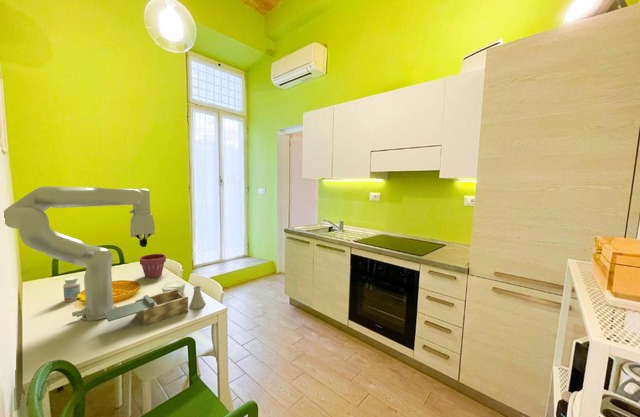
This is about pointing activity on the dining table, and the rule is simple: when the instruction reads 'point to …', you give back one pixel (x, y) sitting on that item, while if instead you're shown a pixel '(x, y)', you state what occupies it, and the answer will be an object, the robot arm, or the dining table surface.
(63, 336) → the dining table surface
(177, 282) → the ramekin
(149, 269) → the plant pot
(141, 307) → the lid
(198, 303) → the flask
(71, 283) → the pill bottle
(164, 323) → the dining table surface
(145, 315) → the wooden box
